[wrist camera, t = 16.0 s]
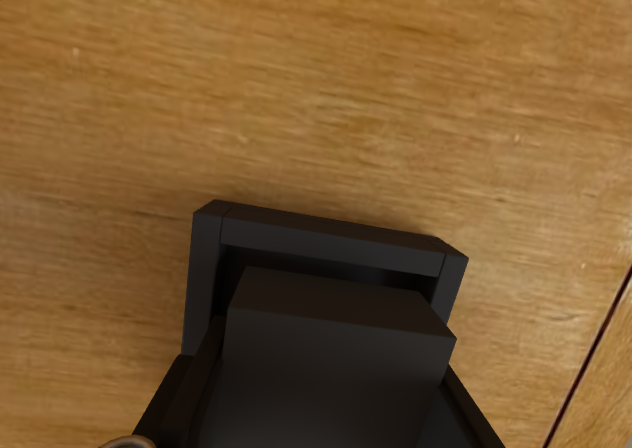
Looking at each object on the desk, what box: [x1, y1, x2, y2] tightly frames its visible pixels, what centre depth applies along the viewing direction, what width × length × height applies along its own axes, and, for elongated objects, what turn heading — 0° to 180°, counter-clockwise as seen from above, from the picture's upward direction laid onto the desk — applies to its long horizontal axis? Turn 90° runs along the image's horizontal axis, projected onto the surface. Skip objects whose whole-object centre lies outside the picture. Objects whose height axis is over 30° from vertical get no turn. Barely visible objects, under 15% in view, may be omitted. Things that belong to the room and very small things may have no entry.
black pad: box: [212, 266, 457, 448], centre depth 9 cm, size 6×6×3 cm
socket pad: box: [181, 200, 469, 356], centre depth 12 cm, size 9×9×2 cm
